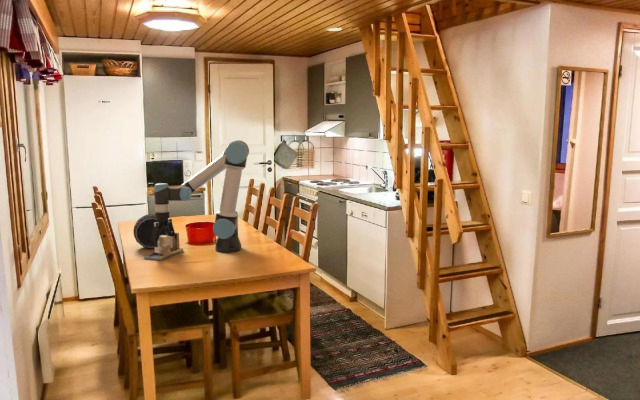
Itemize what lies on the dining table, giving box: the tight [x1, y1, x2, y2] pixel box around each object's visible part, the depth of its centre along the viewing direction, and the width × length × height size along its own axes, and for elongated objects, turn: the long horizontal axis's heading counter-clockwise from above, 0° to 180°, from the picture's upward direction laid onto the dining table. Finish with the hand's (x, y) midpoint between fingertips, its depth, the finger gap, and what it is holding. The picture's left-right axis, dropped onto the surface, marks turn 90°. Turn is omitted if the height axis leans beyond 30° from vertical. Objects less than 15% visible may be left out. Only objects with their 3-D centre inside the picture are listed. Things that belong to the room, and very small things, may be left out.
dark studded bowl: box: [133, 213, 168, 249], centre depth 300 cm, size 11×20×20 cm, turn 110°
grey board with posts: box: [143, 232, 184, 262], centre depth 284 cm, size 11×21×11 cm, turn 162°
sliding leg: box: [158, 235, 170, 255], centre depth 282 cm, size 8×4×10 cm, turn 72°
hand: (163, 250), depth 281 cm, fingers open, 11 cm apart
